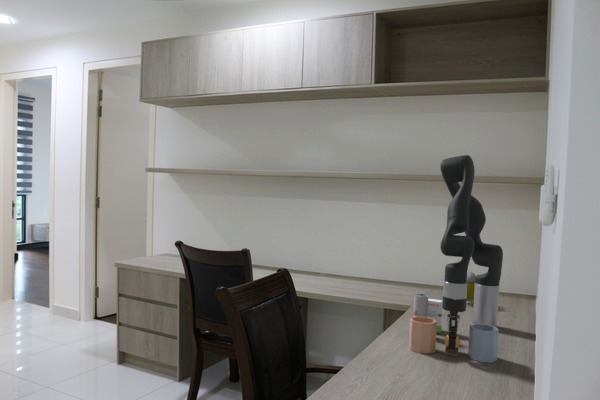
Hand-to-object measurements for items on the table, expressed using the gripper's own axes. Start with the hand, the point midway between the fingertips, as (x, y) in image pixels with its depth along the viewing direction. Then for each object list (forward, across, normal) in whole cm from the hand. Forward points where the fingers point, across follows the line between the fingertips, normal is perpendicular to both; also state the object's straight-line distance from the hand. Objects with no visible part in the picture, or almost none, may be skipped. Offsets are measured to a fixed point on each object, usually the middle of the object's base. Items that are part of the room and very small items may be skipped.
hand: (451, 345), depth 163 cm
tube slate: (+2, 0, +10) cm, 10 cm away
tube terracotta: (+2, 0, -10) cm, 10 cm away
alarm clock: (+3, -79, +6) cm, 80 cm away
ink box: (+3, -25, -8) cm, 26 cm away
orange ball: (-2, 0, 0) cm, 2 cm away
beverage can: (+3, -16, -12) cm, 20 cm away
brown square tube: (+2, 0, 0) cm, 2 cm away
